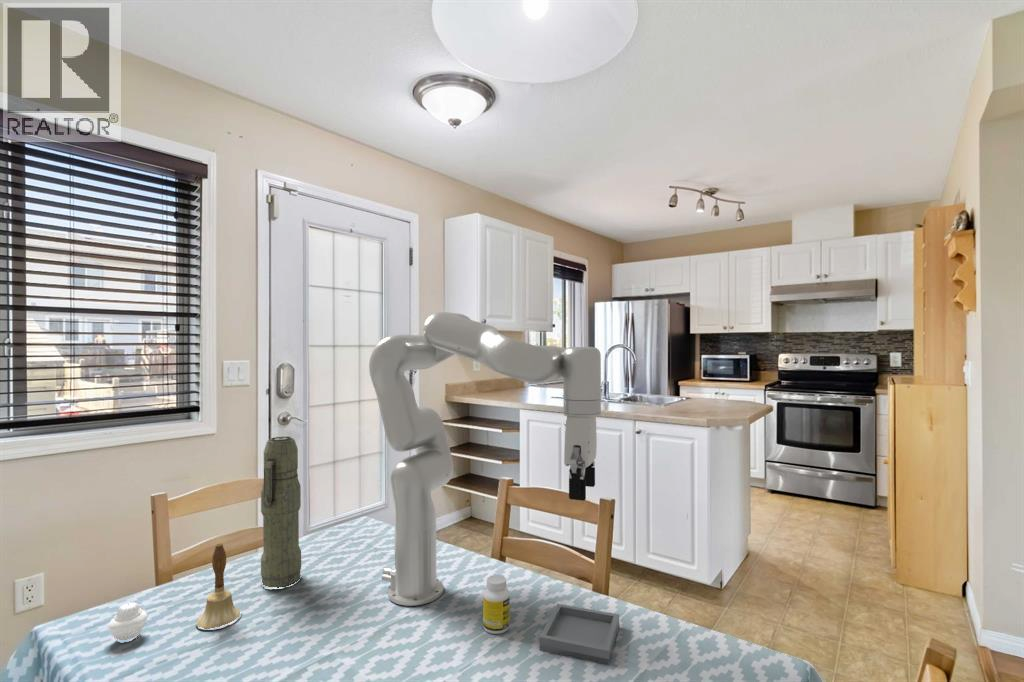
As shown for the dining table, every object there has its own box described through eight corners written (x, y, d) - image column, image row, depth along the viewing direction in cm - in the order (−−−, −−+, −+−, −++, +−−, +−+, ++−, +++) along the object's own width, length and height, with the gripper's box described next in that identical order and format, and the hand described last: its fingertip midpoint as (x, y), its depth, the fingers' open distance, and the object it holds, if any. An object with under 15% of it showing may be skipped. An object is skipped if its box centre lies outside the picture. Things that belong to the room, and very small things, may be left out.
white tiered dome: (114, 634, 101) (114, 599, 101) (151, 627, 104) (151, 593, 104) (103, 651, 96) (103, 614, 96) (142, 643, 98) (142, 607, 98)
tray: (539, 650, 95) (539, 636, 95) (557, 615, 107) (557, 603, 107) (608, 664, 91) (608, 650, 91) (619, 626, 103) (619, 614, 103)
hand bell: (250, 615, 108) (250, 540, 108) (213, 635, 101) (213, 555, 101) (224, 606, 112) (224, 534, 112) (186, 626, 104) (186, 548, 104)
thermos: (309, 570, 129) (308, 433, 130) (289, 593, 118) (288, 442, 118) (274, 570, 129) (274, 434, 130) (251, 593, 118) (250, 443, 118)
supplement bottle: (506, 636, 100) (506, 586, 100) (480, 633, 101) (479, 584, 101) (512, 621, 105) (511, 574, 105) (486, 618, 106) (486, 572, 106)
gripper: (573, 402, 112) (573, 480, 112) (553, 412, 95) (553, 503, 95) (607, 403, 109) (607, 483, 109) (592, 414, 93) (593, 507, 93)
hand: (582, 492), depth 102 cm, fingers open, 9 cm apart
